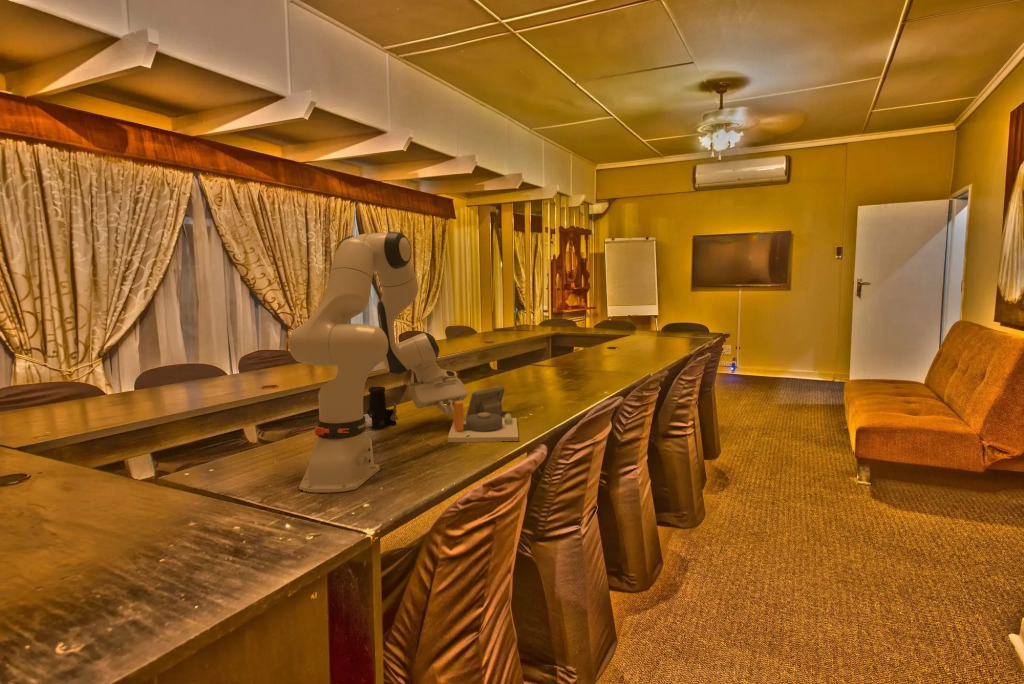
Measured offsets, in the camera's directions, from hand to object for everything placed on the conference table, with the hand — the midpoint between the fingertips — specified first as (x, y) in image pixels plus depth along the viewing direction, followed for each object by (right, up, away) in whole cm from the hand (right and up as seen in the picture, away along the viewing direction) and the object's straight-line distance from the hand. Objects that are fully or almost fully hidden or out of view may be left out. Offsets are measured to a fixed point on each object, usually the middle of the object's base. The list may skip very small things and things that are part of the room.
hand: (449, 412), depth 182 cm
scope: (-25, -6, +6) cm, 26 cm away
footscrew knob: (+10, -4, -2) cm, 11 cm away
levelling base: (+12, -6, 0) cm, 13 cm away
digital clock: (+11, -4, +21) cm, 24 cm away
